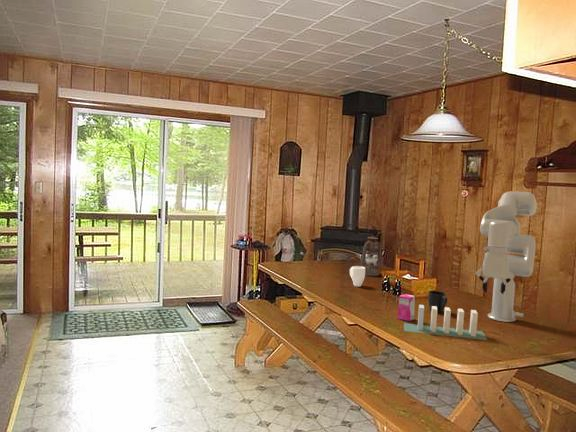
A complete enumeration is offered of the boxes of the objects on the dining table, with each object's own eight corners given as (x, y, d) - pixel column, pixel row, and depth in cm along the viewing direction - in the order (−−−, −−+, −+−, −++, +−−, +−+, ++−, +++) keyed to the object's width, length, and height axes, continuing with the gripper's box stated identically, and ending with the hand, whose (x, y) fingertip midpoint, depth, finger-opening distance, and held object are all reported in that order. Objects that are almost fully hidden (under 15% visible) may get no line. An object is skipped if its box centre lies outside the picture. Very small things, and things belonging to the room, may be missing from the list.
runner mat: (482, 332, 217) (482, 331, 217) (487, 340, 205) (487, 340, 205) (403, 323, 224) (403, 322, 224) (403, 331, 213) (404, 330, 213)
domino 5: (474, 332, 215) (475, 310, 214) (476, 336, 209) (477, 313, 209) (469, 332, 215) (471, 309, 214) (471, 335, 210) (472, 313, 209)
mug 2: (367, 286, 297) (368, 268, 296) (356, 287, 293) (357, 268, 292) (354, 282, 308) (355, 264, 307) (344, 283, 304) (345, 265, 303)
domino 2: (434, 328, 218) (436, 306, 217) (435, 332, 213) (437, 309, 212) (430, 327, 219) (431, 305, 218) (431, 331, 213) (432, 309, 213)
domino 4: (460, 331, 216) (462, 308, 215) (462, 335, 211) (464, 312, 210) (456, 330, 216) (457, 308, 216) (457, 334, 211) (459, 311, 210)
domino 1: (422, 326, 220) (423, 305, 219) (422, 330, 214) (424, 308, 213) (417, 326, 220) (419, 304, 219) (417, 330, 215) (419, 307, 214)
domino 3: (447, 329, 217) (449, 307, 216) (449, 333, 212) (450, 310, 211) (443, 329, 218) (444, 307, 217) (444, 333, 212) (445, 310, 211)
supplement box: (402, 317, 235) (404, 293, 234) (414, 319, 231) (415, 296, 230) (397, 319, 231) (398, 295, 230) (408, 322, 227) (410, 298, 226)
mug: (437, 315, 240) (438, 296, 239) (424, 309, 252) (425, 290, 251) (452, 315, 242) (453, 296, 242) (438, 308, 254) (439, 290, 253)
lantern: (356, 273, 337) (359, 222, 334) (375, 272, 344) (378, 222, 342) (365, 276, 328) (368, 224, 325) (385, 275, 335) (388, 224, 332)
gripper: (476, 250, 206) (473, 292, 207) (520, 253, 202) (517, 296, 204) (473, 247, 213) (470, 288, 215) (516, 251, 210) (513, 292, 211)
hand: (493, 292), depth 209 cm, fingers open, 6 cm apart
